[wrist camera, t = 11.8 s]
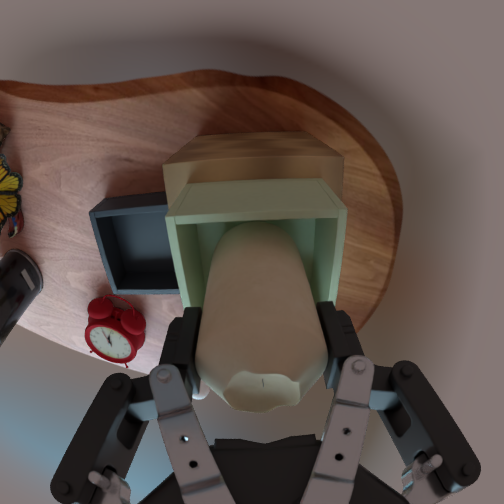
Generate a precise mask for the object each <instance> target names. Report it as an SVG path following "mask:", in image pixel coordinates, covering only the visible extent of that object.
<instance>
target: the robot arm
mask: <svg viewBox="0 0 504 504" xmlns="http://www.w3.org/2000/svg"><path fill="white" fill-rule="evenodd" d="M42 288H43V280H42V276H41V273H40V271H39V269H38V267H37V265H36V264H35V262H34V261H33V260H32V259H31V258H30V257H29V256H28V255H27V254H26V253H24V252H23V251H21V250H18V249H11V250H9V251H8V252H7V253H6V254H5V256H4V257H3V258H2V259H1V260H0V346H1V345H2V343H3V342H4V340H5V339H6V337H7V336H8V334H9V333H10V332H11V330H12V329H13V327H14V326H15V324H16V323H17V322H18V320H19V319H20V317H21V316H22V315H23V313H24V312H25V310H26V309H27V308H28V306H29V305H30V304H31V303H32V301H33V300H34V299H35V297H36V296H37V295H38V294H39V293H40V292H41V290H42ZM316 310H317V314H318V317H319V321H320V324H321V328H322V331H323V335H324V339H325V342H326V346H327V350H328V362H327V366H326V369H325V371H324V372H323V375H324V380H325V384H326V389H329V388H333V390H334V397H333V400H332V404H331V407H330V411H329V414H328V417H327V421H326V424H325V427H324V430H323V433H322V436H321V439H320V440H316V438H315V434H310V435H302V436H291V437H288V438H284V439H281V440H278V441H274V442H271V443H266V444H263V443H257V442H252V441H247V440H242V439H215V444H214V445H210V446H209V445H208V442H207V440H206V438H205V436H204V434H203V431H202V428H201V426H200V423H199V421H198V418H197V416H196V414H195V411H194V408H193V406H192V404H191V402H192V395H193V394H199V391H200V383H201V378H200V377H199V375H198V373H197V370H196V367H195V354H196V347H197V341H198V335H199V329H200V323H201V317H202V309H201V307H185V309H184V314H183V317H175V318H174V320H173V321H172V322H171V323H170V324H169V328H168V331H167V335H166V339H165V342H164V346H163V350H162V354H161V357H160V361H159V365H158V366H156V367H155V368H153V369H152V370H151V372H150V374H149V375H147V376H144V377H140V378H135V379H130V377H129V376H128V375H126V374H124V373H115V374H112V375H110V376H109V377H107V378H106V380H105V381H104V383H103V385H102V386H101V388H100V390H99V392H98V393H97V395H96V397H95V399H94V400H93V402H92V404H91V406H90V407H89V409H88V411H87V413H86V415H85V416H84V418H83V420H82V422H81V424H80V426H79V428H78V429H77V431H76V433H75V435H74V437H73V439H72V441H71V443H70V445H69V446H68V448H67V450H66V452H65V454H64V456H63V458H62V460H61V462H60V464H59V466H58V468H57V470H56V473H55V474H54V476H53V479H52V481H51V484H50V490H51V493H52V495H53V497H54V498H55V499H56V500H57V501H58V502H60V503H62V504H130V493H131V490H130V486H129V484H128V483H127V482H126V481H125V477H126V475H127V473H128V470H129V467H130V465H131V463H132V460H133V458H134V456H135V453H136V451H137V448H138V446H139V444H140V441H141V439H142V436H143V434H144V432H145V430H146V427H147V425H148V423H149V420H152V419H157V420H158V424H159V428H160V430H161V434H162V438H163V441H164V444H165V447H166V450H167V453H168V456H169V459H170V462H171V464H172V468H173V470H174V472H173V473H172V474H170V475H169V476H168V477H167V478H166V479H165V480H164V481H163V482H162V483H161V484H160V485H159V486H157V487H156V488H155V489H154V490H153V491H152V492H151V493H149V494H148V495H147V496H146V497H145V498H144V499H143V500H141V501H140V502H139V503H138V504H436V503H438V502H440V501H442V500H444V499H446V498H448V497H450V496H452V495H454V494H455V493H457V492H459V491H461V490H463V489H465V488H466V487H468V486H470V485H471V484H473V483H474V482H475V481H476V480H477V479H478V477H479V475H480V472H481V465H480V462H479V460H478V459H477V457H476V455H475V454H474V452H473V450H472V448H471V447H470V445H469V443H468V442H467V440H466V439H465V437H464V435H463V434H462V432H461V431H460V429H459V427H458V426H457V424H456V423H455V421H454V419H453V418H452V416H451V415H450V413H449V412H448V410H447V409H446V407H445V406H444V404H443V403H442V401H441V400H440V398H439V397H438V395H437V394H436V392H435V391H434V389H433V388H432V386H431V385H430V384H429V382H428V381H427V379H426V378H425V376H424V375H423V373H422V372H421V371H420V369H419V368H418V366H417V365H416V364H414V363H412V362H410V361H399V362H397V363H396V364H395V365H394V366H393V368H392V367H383V366H377V365H375V364H373V362H372V361H371V360H370V359H369V358H367V357H365V355H364V353H363V351H362V348H361V345H360V342H359V340H358V337H357V334H356V333H355V329H354V326H353V324H352V321H351V319H350V317H349V316H348V315H347V314H346V313H345V312H344V311H343V310H340V311H336V309H335V306H334V303H333V301H322V302H317V304H316ZM370 409H375V410H377V412H378V413H379V415H380V417H381V419H382V421H383V423H384V425H385V427H386V428H387V430H388V432H389V434H390V436H391V438H392V439H393V442H394V444H395V446H396V448H397V449H398V451H399V453H400V455H401V457H402V459H403V461H404V463H405V465H406V468H405V469H404V471H403V473H402V483H403V493H402V494H400V493H398V492H397V491H395V490H394V489H393V488H391V487H390V486H388V485H387V484H385V483H384V482H383V481H382V480H380V479H379V478H378V477H376V476H375V475H373V474H372V473H371V472H370V471H368V470H367V469H366V468H364V467H363V466H362V465H361V464H359V460H360V456H361V452H362V448H363V443H364V439H365V434H366V430H367V425H368V419H369V414H370Z"/></svg>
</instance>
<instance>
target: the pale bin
mask: <svg viewBox="0 0 504 504" xmlns="http://www.w3.org/2000/svg"><path fill="white" fill-rule="evenodd" d="M347 210H348V209H347V208H346V206H345V205H344V204H343V203H342V202H341V200H340V199H339V198H338V197H337V195H336V194H335V193H334V192H333V191H332V189H331V188H330V187H329V186H328V185H327V183H326V182H325V181H324V180H323V179H322V178H287V179H255V180H233V181H217V182H202V183H189V184H186V185H185V186H184V188H183V189H182V191H181V192H180V194H179V195H178V197H177V198H176V200H175V202H174V203H173V205H172V206H171V208H170V209H169V211H168V212H167V214H166V216H165V220H166V226H167V232H168V237H169V242H170V248H171V253H172V258H173V263H174V268H175V272H176V277H177V282H178V286H179V291H180V295H181V300H182V304H183V308H184V309H185V307H201V309H202V311H203V305H204V299H205V294H206V288H207V283H208V277H209V272H210V266H211V261H212V256H213V252H214V249H215V247H216V245H217V243H218V241H219V240H220V239H221V237H222V236H223V235H224V234H225V233H226V232H227V231H229V230H230V229H232V228H233V227H235V226H238V225H240V224H243V223H247V222H266V223H270V224H273V225H276V226H278V227H280V228H281V229H283V230H284V231H285V232H287V233H288V234H289V235H290V237H291V238H292V239H293V240H294V242H295V244H296V246H297V248H298V250H299V253H300V256H301V259H302V263H303V266H304V269H305V273H306V276H307V279H308V283H309V286H310V289H311V293H312V296H313V300H314V303H315V306H316V304H317V302H322V301H333V303H334V306H335V303H336V297H337V291H338V284H339V277H340V270H341V263H342V255H343V247H344V239H345V230H346V220H347Z"/></svg>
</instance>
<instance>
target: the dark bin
mask: <svg viewBox="0 0 504 504" xmlns="http://www.w3.org/2000/svg"><path fill="white" fill-rule="evenodd" d="M168 211H169V209H168V203H167V196H166V192H155V193H145V194H136V195H127V196H119V197H111V198H104V199H103V200H102V201H101V202H100V203H99V204H97V205H96V206H95V207H94V208H93V209H92V210H91V211H89V216H90V220H91V224H92V228H93V231H94V235H95V238H96V242H97V245H98V249H99V252H100V255H101V258H102V262H103V265H104V268H105V271H106V274H107V277H108V280H109V283H110V285H111V288H112V291H113V294H180V291H179V286H178V282H177V277H176V272H175V268H174V263H173V258H172V253H171V248H170V242H169V237H168V232H167V226H166V220H165V216H166V214H167V212H168Z"/></svg>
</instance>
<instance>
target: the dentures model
mask: <svg viewBox="0 0 504 504" xmlns="http://www.w3.org/2000/svg"><path fill="white" fill-rule="evenodd" d="M8 220H9V230H8V235H9V238H12V237H13V236H15V235H17V234H18V233H19V232H20V231H21V230H22V228H23V225H24V220H23V215H22V213H21V211H20V210H19V212H18V213H17V215H16V216H15V217H12V218H8Z"/></svg>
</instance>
